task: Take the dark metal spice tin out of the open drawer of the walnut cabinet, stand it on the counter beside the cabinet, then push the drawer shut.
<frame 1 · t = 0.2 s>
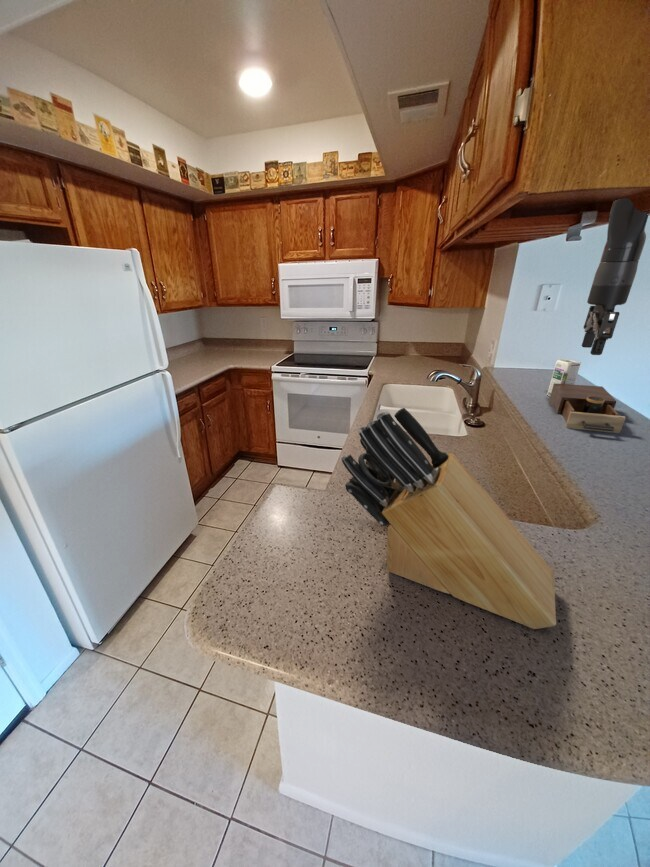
hand: (590, 350, 85), 28 cm above the worktop, tool pointing down, fingers open, 8 cm apart
drawer: (590, 417, 104), point 4 cm above the worktop, slide at 10.0 cm, touching spice tin
spice tin: (587, 421, 105), point 2 cm above the worktop, touching drawer
syrup box: (557, 397, 130), on the worktop
knife block: (438, 568, 61), on the worktop
cabinet: (576, 412, 117), on the worktop
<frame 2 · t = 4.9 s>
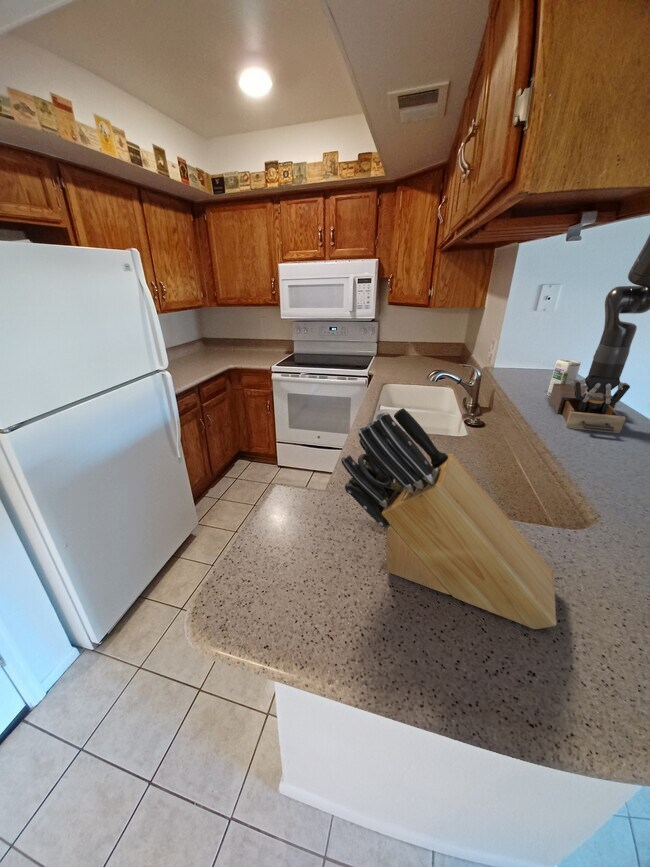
hand: (591, 412, 104), 5 cm above the worktop, tool pointing down, fingers closed on spice tin, 4 cm apart
spice tin: (587, 421, 105), point 2 cm above the worktop, touching drawer, gripper
everything else where it was.
when the fingers open (3 cm above the worktop, at t = 12.1 s): spice tin stays where it is, on the worktop.
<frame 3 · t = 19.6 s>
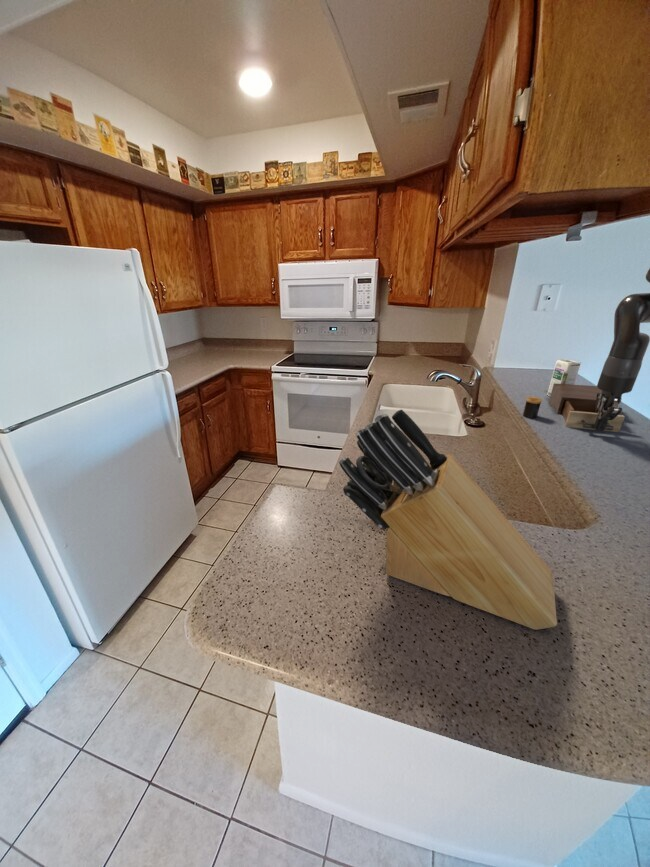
hand: (598, 429, 96), 4 cm above the worktop, tool pointing down, fingers closed
drawer: (589, 416, 104), point 4 cm above the worktop, slide at 9.3 cm, touching gripper
spice tin: (528, 420, 113), on the worktop
everything else where it was.
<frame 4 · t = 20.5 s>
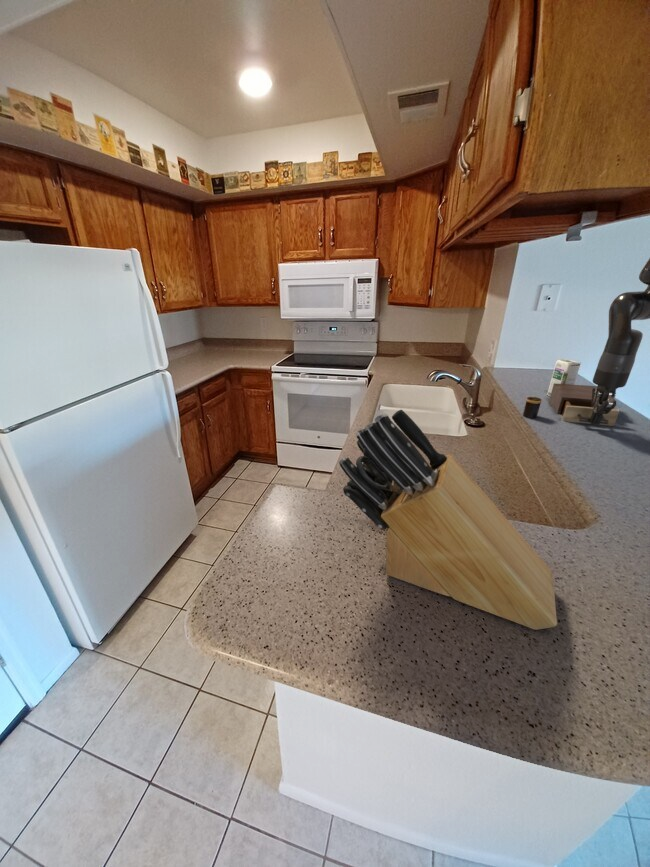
hand: (594, 423, 100), 4 cm above the worktop, tool pointing down, fingers closed
drawer: (586, 411, 108), point 4 cm above the worktop, slide at 4.8 cm, touching gripper
everything else where it was.
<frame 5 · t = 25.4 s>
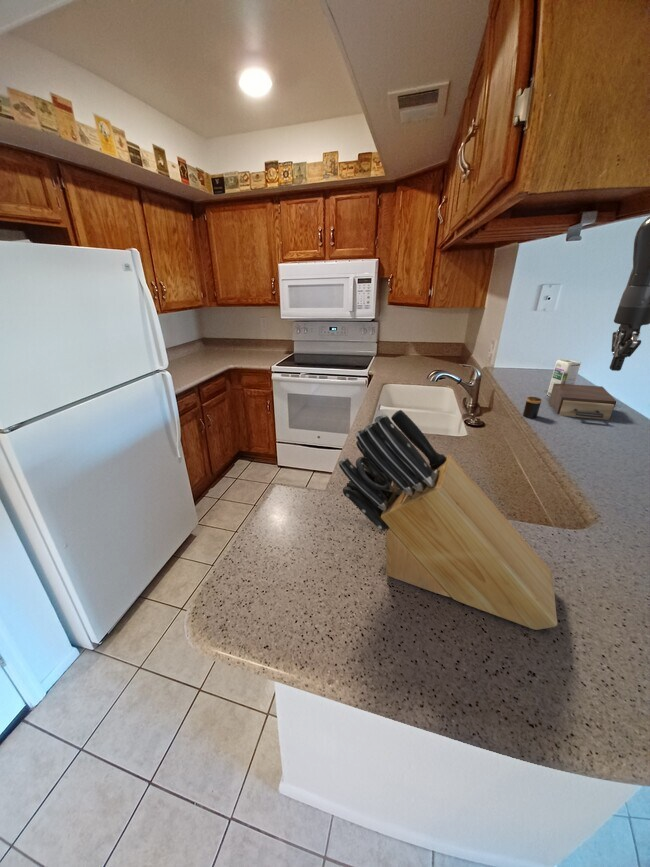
hand: (614, 369, 92), 21 cm above the worktop, tool pointing down, fingers closed
drawer: (582, 406, 112), point 4 cm above the worktop, slide at 0.0 cm
everything else where it was.
at the end: spice tin inside the target area (0.1 cm from its centre), on the worktop; spice tin tilted 0°; drawer slide at 0.0 cm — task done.
